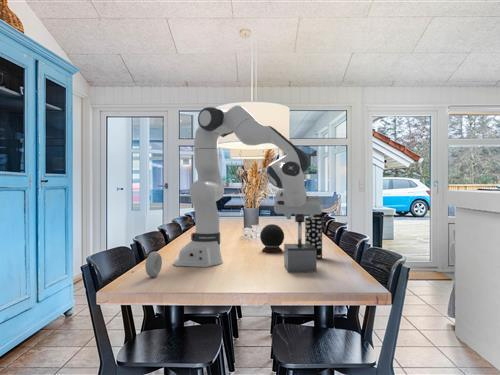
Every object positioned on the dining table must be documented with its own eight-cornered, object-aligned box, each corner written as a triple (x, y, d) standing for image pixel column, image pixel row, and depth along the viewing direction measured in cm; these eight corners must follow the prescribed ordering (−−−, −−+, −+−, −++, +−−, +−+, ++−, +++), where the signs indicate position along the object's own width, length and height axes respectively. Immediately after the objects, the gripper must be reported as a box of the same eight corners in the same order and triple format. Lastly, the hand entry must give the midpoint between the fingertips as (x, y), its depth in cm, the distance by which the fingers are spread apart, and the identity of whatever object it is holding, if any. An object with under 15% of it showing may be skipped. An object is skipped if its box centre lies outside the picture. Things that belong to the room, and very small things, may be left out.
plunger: (292, 254, 156) (292, 214, 156) (289, 251, 164) (289, 213, 163) (310, 254, 156) (310, 214, 156) (306, 251, 164) (306, 212, 164)
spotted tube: (322, 260, 179) (322, 218, 179) (304, 259, 181) (304, 218, 181) (322, 256, 187) (322, 217, 187) (305, 256, 189) (305, 217, 189)
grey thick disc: (151, 280, 141) (151, 254, 141) (143, 279, 141) (143, 253, 141) (163, 274, 150) (163, 249, 150) (155, 273, 151) (155, 249, 151)
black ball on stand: (268, 248, 212) (268, 222, 212) (288, 251, 204) (288, 224, 204) (255, 252, 201) (255, 224, 201) (276, 254, 193) (276, 226, 193)
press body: (287, 272, 154) (287, 248, 154) (284, 266, 166) (284, 243, 166) (316, 272, 154) (316, 248, 154) (310, 265, 166) (310, 243, 166)
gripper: (322, 191, 150) (324, 213, 159) (273, 190, 156) (278, 212, 165) (321, 202, 146) (323, 224, 155) (270, 201, 152) (276, 223, 161)
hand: (299, 218), depth 160 cm, fingers open, 8 cm apart
